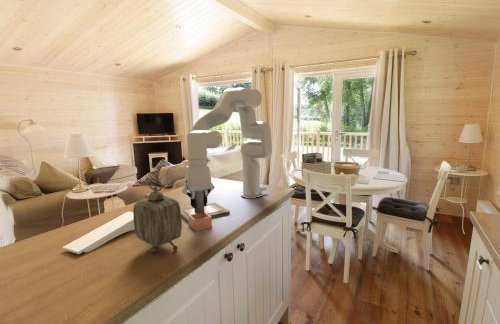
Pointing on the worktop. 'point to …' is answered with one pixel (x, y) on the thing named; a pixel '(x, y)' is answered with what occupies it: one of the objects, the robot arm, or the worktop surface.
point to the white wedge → (102, 234)
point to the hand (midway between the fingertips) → (199, 206)
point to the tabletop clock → (157, 219)
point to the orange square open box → (200, 221)
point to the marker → (199, 201)
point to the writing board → (210, 209)
